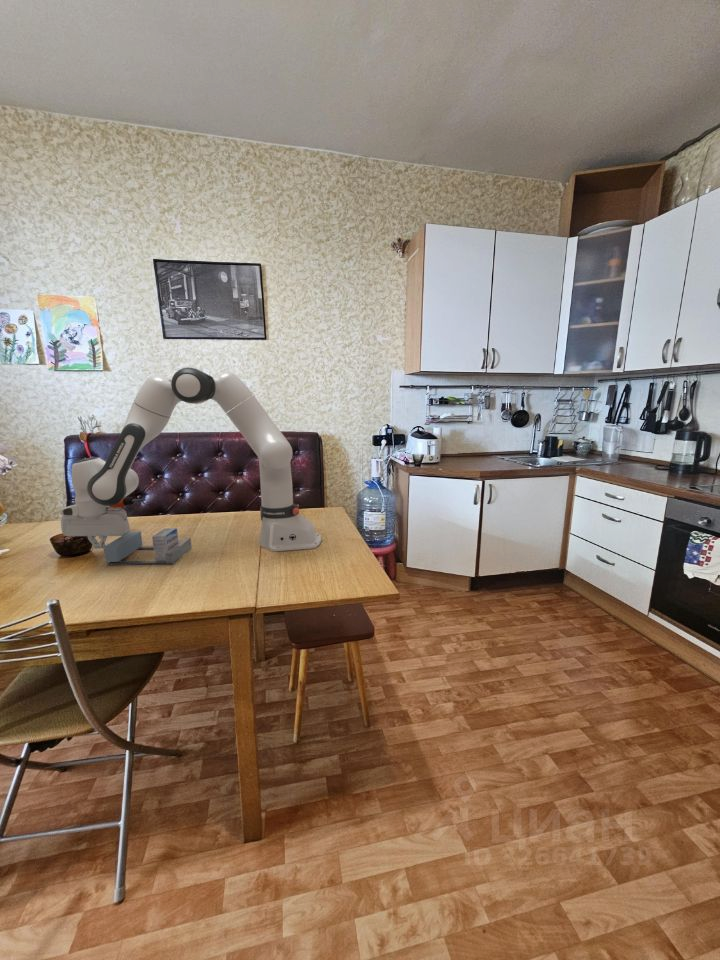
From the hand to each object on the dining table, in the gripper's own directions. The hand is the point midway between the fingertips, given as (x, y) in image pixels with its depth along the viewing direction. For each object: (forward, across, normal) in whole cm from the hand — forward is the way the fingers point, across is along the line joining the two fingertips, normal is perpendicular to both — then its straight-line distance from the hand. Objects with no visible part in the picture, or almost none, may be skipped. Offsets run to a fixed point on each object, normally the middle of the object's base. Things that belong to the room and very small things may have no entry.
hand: (99, 547), depth 128 cm
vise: (+3, -17, 0) cm, 17 cm away
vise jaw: (+2, -8, 0) cm, 9 cm away
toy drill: (+3, +5, -24) cm, 25 cm away
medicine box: (+3, -22, 0) cm, 23 cm away
